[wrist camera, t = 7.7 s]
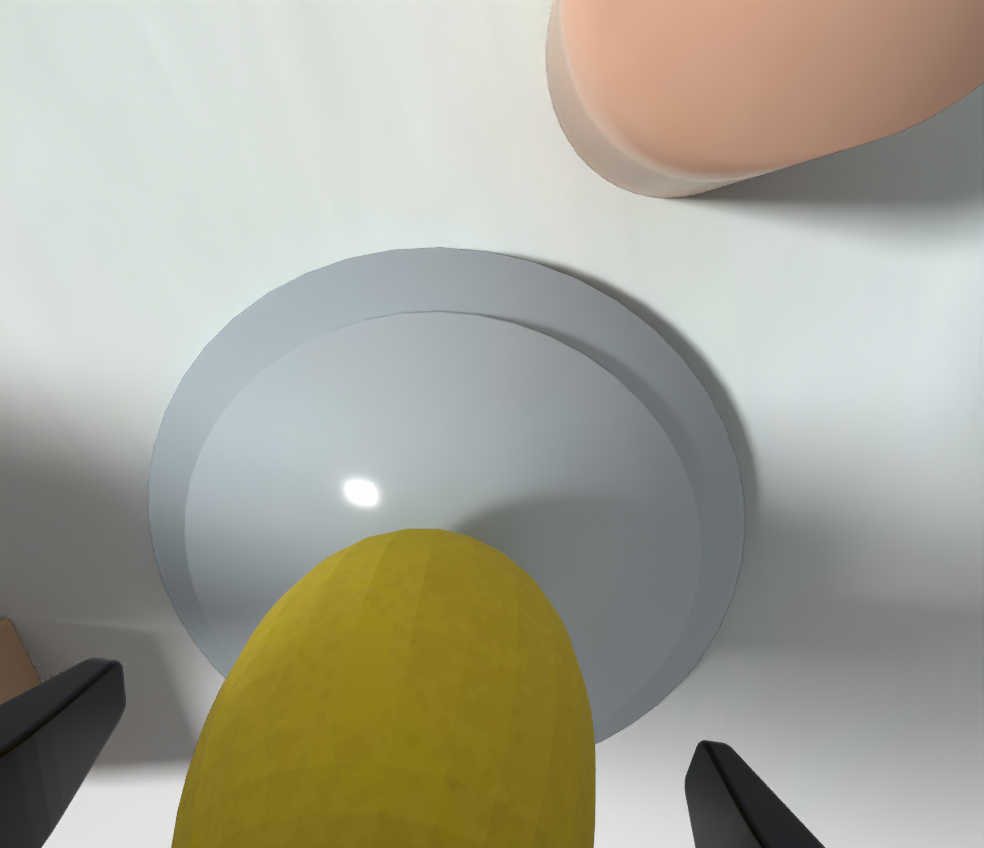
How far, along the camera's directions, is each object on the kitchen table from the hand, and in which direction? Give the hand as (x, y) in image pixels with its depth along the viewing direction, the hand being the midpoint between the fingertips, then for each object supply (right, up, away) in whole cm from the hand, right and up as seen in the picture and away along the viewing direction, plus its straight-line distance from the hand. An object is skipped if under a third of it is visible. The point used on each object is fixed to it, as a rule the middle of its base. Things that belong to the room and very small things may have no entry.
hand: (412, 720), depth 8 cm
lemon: (0, +1, +4) cm, 4 cm away
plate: (0, +2, +5) cm, 5 cm away
